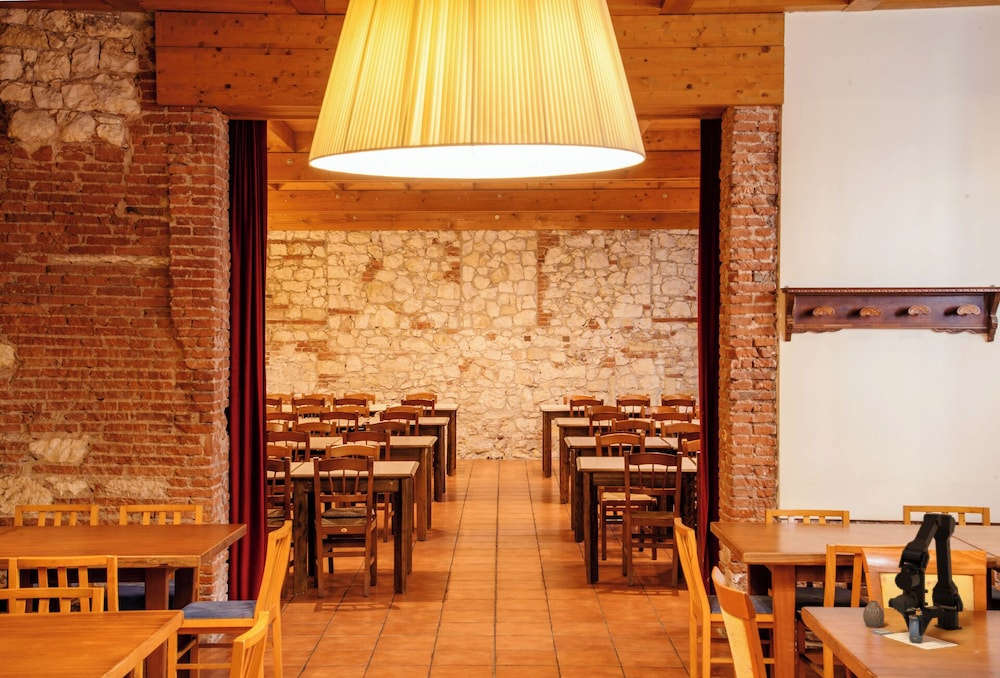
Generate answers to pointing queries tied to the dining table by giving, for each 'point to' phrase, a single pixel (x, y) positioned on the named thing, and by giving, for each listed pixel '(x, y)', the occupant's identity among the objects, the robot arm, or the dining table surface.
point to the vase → (873, 615)
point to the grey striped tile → (882, 632)
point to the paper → (926, 644)
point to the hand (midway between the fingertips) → (916, 634)
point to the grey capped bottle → (914, 629)
